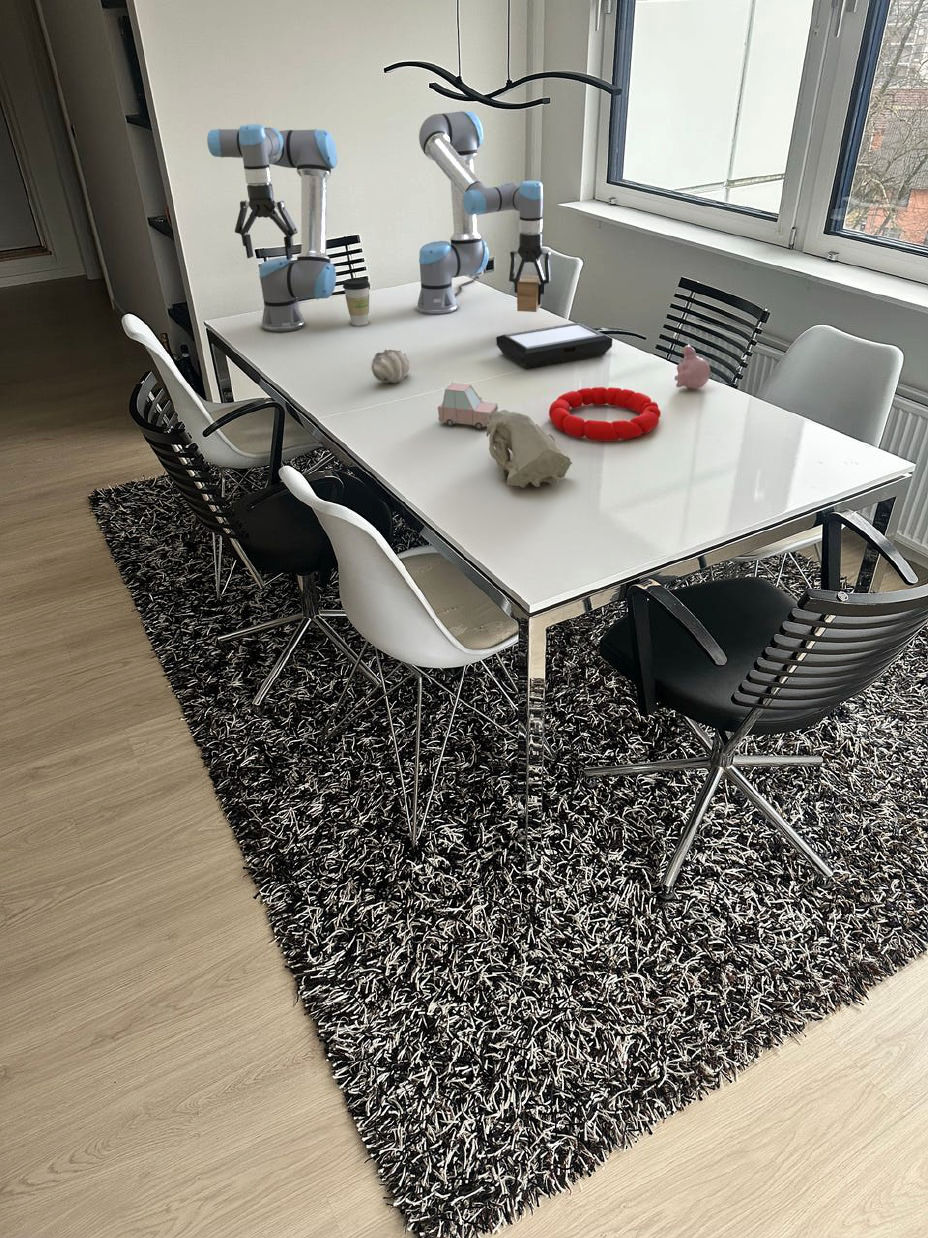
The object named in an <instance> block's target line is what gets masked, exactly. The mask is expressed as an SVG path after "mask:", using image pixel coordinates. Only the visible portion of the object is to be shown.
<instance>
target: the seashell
mask: <svg viewBox="0 0 928 1238" xmlns="http://www.w3.org/2000/svg"><path fill="white" fill-rule="evenodd" d="M410 368H411V362H410V358H409V357H408V354H407V353H403V351H401V350H396V349H384V350H383V352H376V353H375V354H374V356H373V358H372V363H371V371H372V374H373V377H375V378H376V379H377V380H378V381H379V382H380V383H384V384H388V383H389V382H390V383H393V384H396V383H400V382H402V381H403V380H404V378H406V376H407V375H408V373H409V372H410Z"/></svg>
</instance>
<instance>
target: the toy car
mask: <svg viewBox="0 0 928 1238" xmlns="http://www.w3.org/2000/svg"><path fill="white" fill-rule="evenodd" d="M498 409H499V404H498V403H497V402H490V401H489V402H487V401H483V397H481V396H480V395H479V394H478V393H477V391H476V390H475V389H474V386H472V384H469V383H459V382H451V383H450V384H449V385H448V386H447V387H446V388H445V389H444V394H443V399H442V403H440V404H439V405H438V406H437V413H438V421H439V422H443V423H446V425H447V426H448V427H452V426H454V425H455V424H461V425H469V426H473V427H475V429H476V430H479V431H480V430H481V429H483V428H485V427H486V428H487V423H488V422H490V414H491V413H492V412H496V411H499V410H498Z"/></svg>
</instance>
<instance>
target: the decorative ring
mask: <svg viewBox="0 0 928 1238" xmlns="http://www.w3.org/2000/svg"><path fill="white" fill-rule="evenodd" d="M583 405H584V406H586V407H587V406H591V405H593V406H604V405H608V406H614V407H619V408H624V409H628V410H632V411H635V412H636V413H638V414H639V415H637V416H635V417H632V418H631V419H630V420H625V419H624V420H623V419H622V420H614V421H611V422H609V421H607V420H606V421H605V420H593V419H587V420H586V421H585V419H584V418H582V417H579V416H577V415H573V414H571V413H570V410H571V409H579V408H581V407H582V406H583ZM548 416H549V419H550V422H551V423H552V425H553V426H554V427H555V428H556V429H558V430H559V431H561V432H563V433H567V434H568V435H569V436H573V437H576V438H580V439H582V438H583V437H585V438H586V439H587V440H591V441H601V442H602V441H603V442H608V441H609V442H610V441H611V442H612V441H615V442H616V441H618V440H630V439H634V438H638V437H641V436H642V434H647V433H650V432H651V431H653V430H654V429H655V428H656V427H657V426H658V424H659V422H660V421H659V420H660V417H661V410H660V408H659V405H658V403H657V402H656V401H652V399H651V397H649V396H648V395H646V394H644V393H642V392H635V391H634V390H632V389H628V388H624V389H622V388H620V387H613V386H612V387H611V386H610V387H608V388H606V387H604V386H594V387H585V388H584V387H583V388H580V389H578V390H571V391H568V392H565V393H563V394H561V395H560V396H558V397H557V398H556V400H554V401H552V403H551V404H550V407H549V409H548Z"/></svg>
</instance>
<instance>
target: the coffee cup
mask: <svg viewBox="0 0 928 1238" xmlns="http://www.w3.org/2000/svg"><path fill="white" fill-rule="evenodd" d="M370 287H371V283H370V282H369V279H367V278H365V277H351V278H347V279H345V280H344V281H343V285H342V288H343V290H344V297H345V301H346V305H347V310H348V314H349V318H350V323H351V325H353V326H357V327H359V326H365V325H368V324H369V317H370V316H369V313H370Z"/></svg>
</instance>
